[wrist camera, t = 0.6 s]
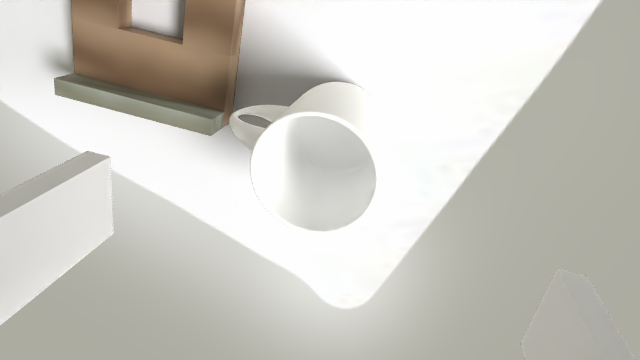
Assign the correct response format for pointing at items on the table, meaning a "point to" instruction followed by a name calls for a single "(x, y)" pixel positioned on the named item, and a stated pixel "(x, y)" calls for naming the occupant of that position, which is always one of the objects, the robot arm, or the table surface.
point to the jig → (157, 63)
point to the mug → (317, 157)
